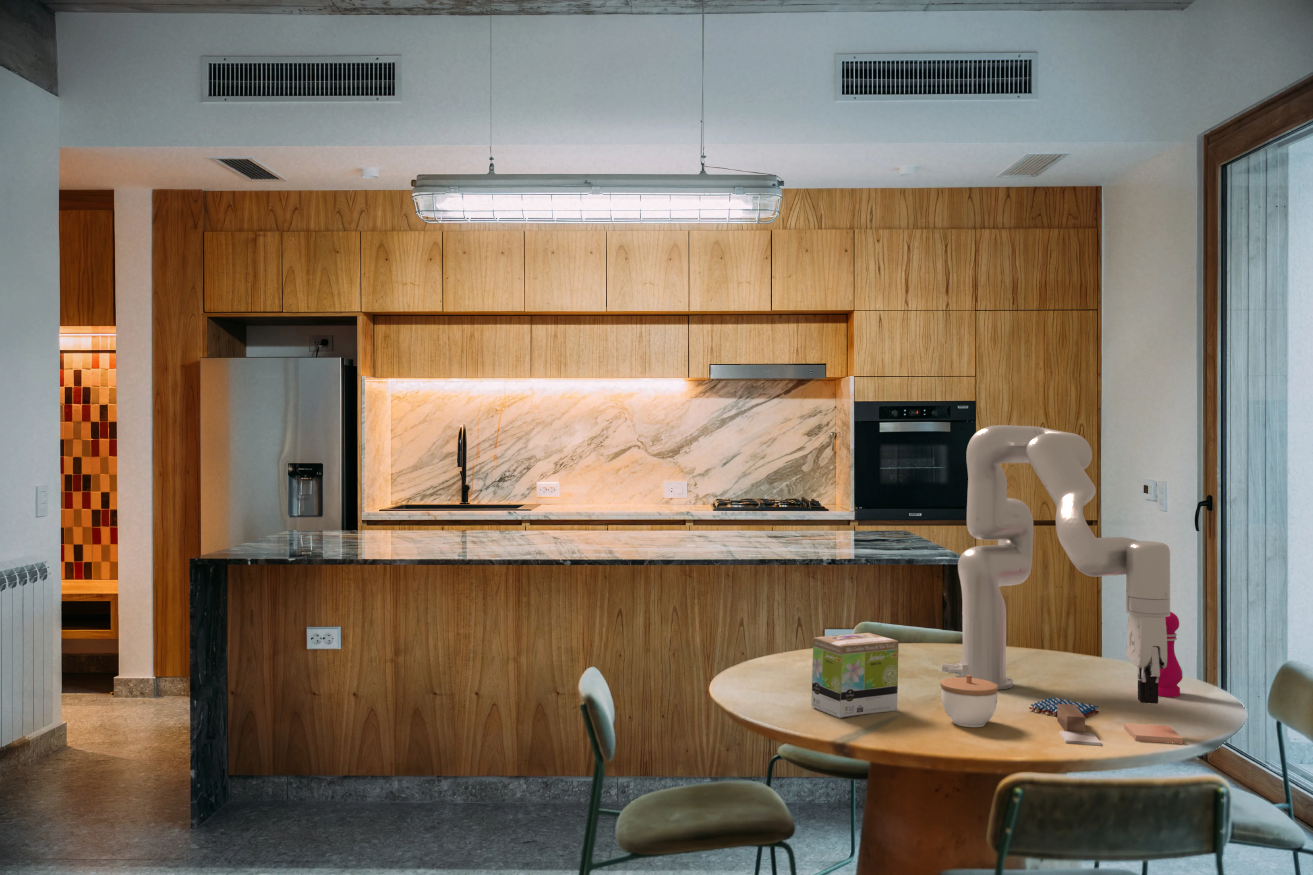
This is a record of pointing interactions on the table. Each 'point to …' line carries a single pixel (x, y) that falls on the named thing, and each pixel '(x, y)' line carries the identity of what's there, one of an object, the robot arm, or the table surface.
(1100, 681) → the table surface
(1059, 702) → the woven mat
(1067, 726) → the turner
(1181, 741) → the tile
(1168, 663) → the pepper mill
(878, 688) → the tea box
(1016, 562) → the robot arm
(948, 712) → the lidded jar
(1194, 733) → the table surface
